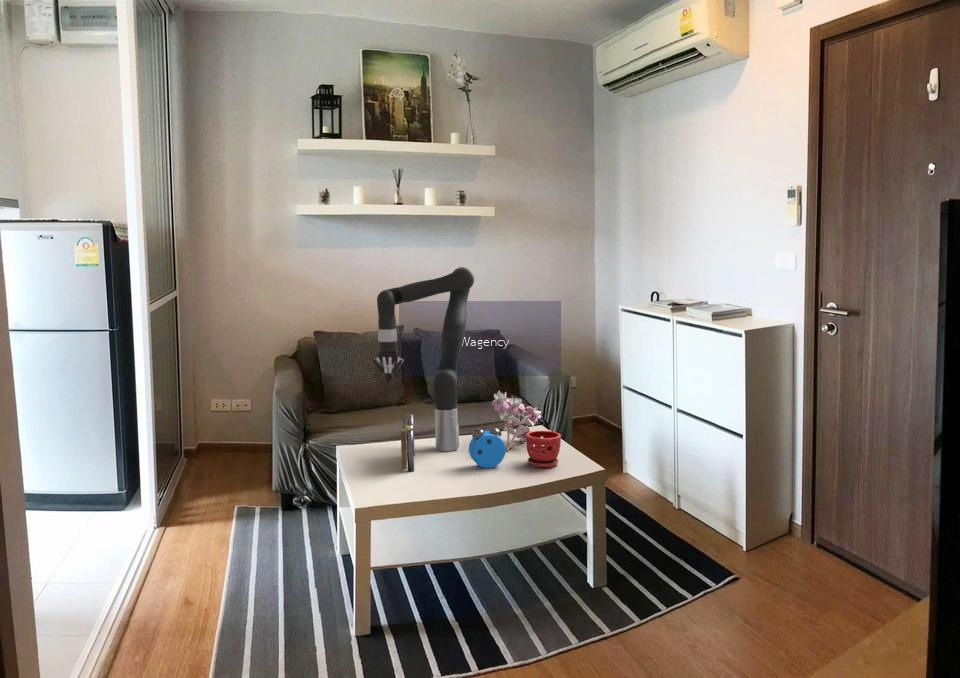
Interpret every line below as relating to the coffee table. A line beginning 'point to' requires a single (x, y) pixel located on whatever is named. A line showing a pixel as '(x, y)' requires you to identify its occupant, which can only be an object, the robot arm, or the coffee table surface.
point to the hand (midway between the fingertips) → (389, 382)
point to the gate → (404, 445)
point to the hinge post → (411, 422)
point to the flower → (504, 407)
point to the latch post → (410, 448)
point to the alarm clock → (487, 447)
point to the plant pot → (543, 448)
